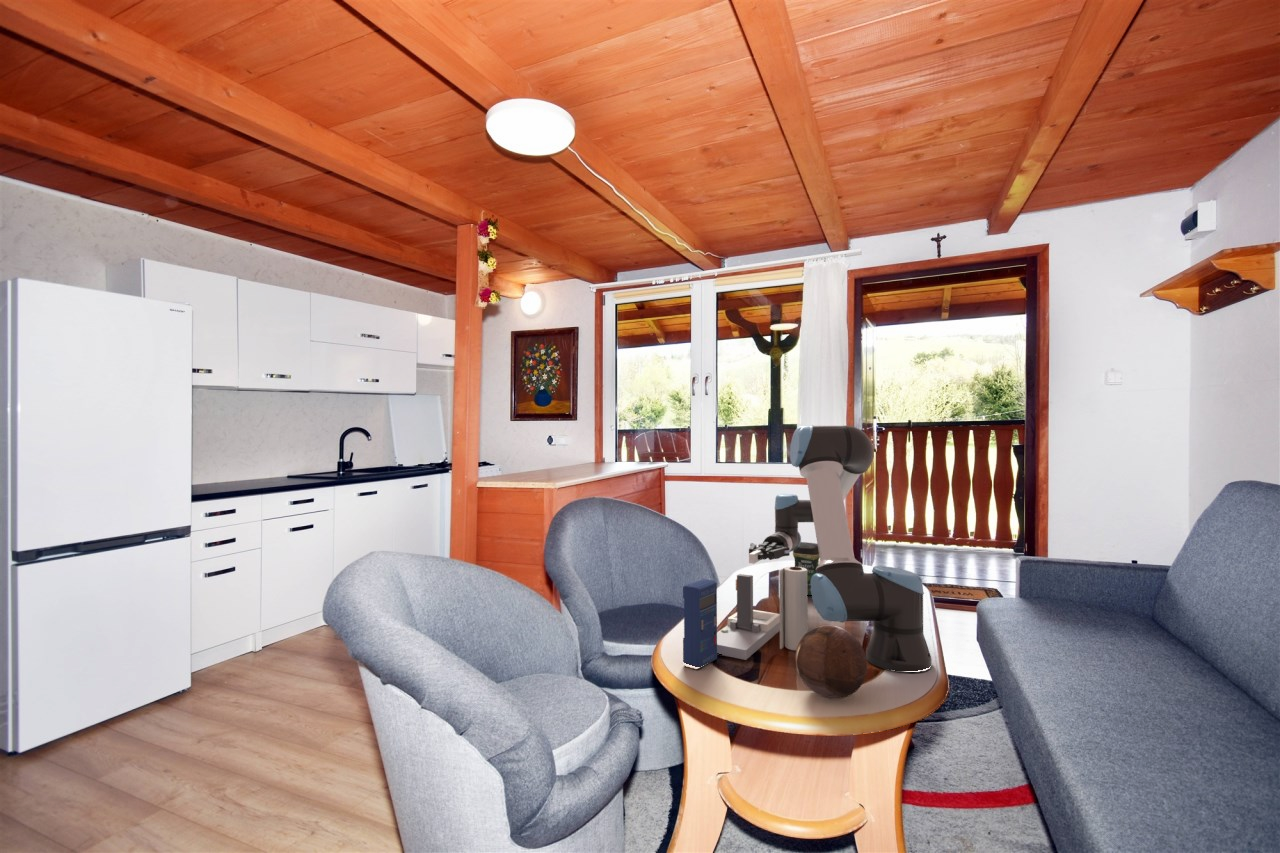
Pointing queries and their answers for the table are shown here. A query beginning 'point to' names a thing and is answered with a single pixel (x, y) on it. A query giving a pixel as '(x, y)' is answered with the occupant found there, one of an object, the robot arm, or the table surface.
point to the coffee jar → (807, 560)
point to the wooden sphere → (831, 661)
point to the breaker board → (747, 635)
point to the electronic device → (700, 622)
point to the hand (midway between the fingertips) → (751, 558)
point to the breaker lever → (744, 601)
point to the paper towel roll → (793, 606)
